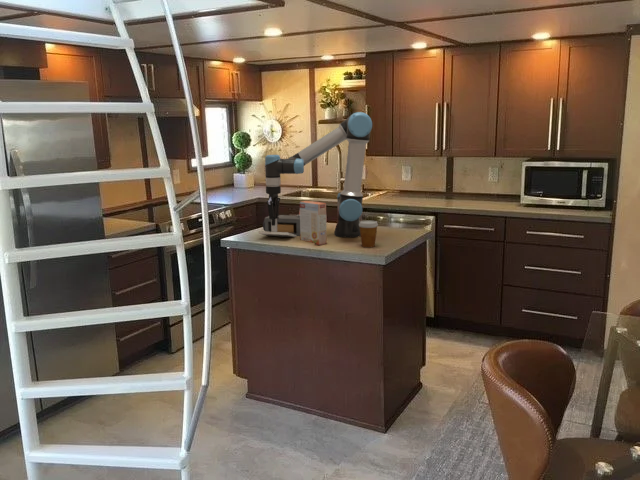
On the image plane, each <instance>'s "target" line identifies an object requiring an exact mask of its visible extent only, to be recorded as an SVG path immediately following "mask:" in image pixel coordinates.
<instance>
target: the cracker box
mask: <svg viewBox="0 0 640 480" xmlns="http://www.w3.org/2000/svg"><path fill="white" fill-rule="evenodd" d="M299 212H300V236H299V239H300V241H303V242H309V243H314V245H315V246H321V245H326V244H327V243H328V242H327V241H328V240H327V222H326V216H327V203H326V202H319V201H312V200H302V201H299Z"/></svg>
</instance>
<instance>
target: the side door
mask: <svg viewBox="0 0 640 480" xmlns="http://www.w3.org/2000/svg"><path fill="white" fill-rule="evenodd" d="M258 234H260V235H263V236H268V237H269V236H270V237H288V238H289V237H290V238H295V237H297V236H296V235H295V234H291V233H288V232H267V231H264V230H263V231H262V230H261V231H260V230H259V231H258Z"/></svg>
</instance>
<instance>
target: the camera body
mask: <svg viewBox="0 0 640 480" xmlns="http://www.w3.org/2000/svg"><path fill="white" fill-rule="evenodd" d="M278 217H279V219H278V218H277V232H288V233H291V234H295V235H296V237H300V215H299V214H296V215H287V214H279V216H278ZM262 230H263V231H267V232H271V219H269V215H268V216H265V217H264V220H263V221H262Z"/></svg>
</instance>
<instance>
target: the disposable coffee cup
mask: <svg viewBox="0 0 640 480" xmlns="http://www.w3.org/2000/svg"><path fill="white" fill-rule="evenodd" d="M359 221H360V220H359ZM378 226H379V224H378V221H376V220H361V221H360V223H359V227H360V234H361V236H360V240H361V247H363V248H374V247H375V246H376V238H377V231H378Z"/></svg>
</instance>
